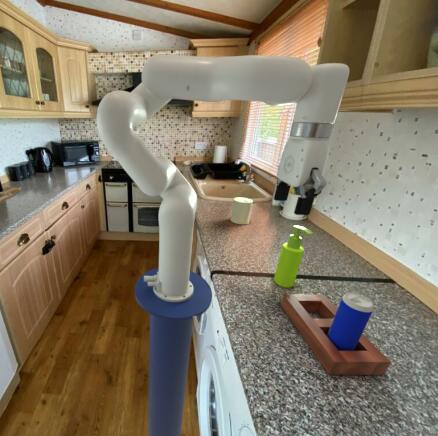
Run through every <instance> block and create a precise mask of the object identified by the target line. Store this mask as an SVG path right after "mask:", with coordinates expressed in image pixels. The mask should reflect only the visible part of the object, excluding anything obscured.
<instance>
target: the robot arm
mask: <svg viewBox="0 0 438 436" xmlns="http://www.w3.org/2000/svg"><path fill="white" fill-rule="evenodd" d="M349 76H350V67H349V66H348V65H347V64H346V63H341V62H340V63H339V62H338V63H337V62H328V63H321V64H315V65H312V66H311V65H310V64H309V63H308V62H307V61H306V60H304V59H302V58H299V57H297V56H296V57H295V56H286V55H285V56H283V55H264V54H259V55H258V54H250V55H248V54H247V55H237V56H236V55H235V56H231V55H229V56H198V55H197V56H195V55H184V54H183V55H181V54H163V53H162V54H161V53H160V54H155V55H154V54H153V55H152V56H150V57H149V58H147V60H146V61H145V62H144V64H143V65H142V69H141V82H140V84H138V85H137V86H136V87H135V88H134V89H133V90H132V91H126V90H119V89H118V90H112V91H110V92H107V94H105V95H104V96H103V97H102V99H101V100H100V102H99V104H98V107H97V110H96V128H97V132H98V135H99V138H100V140H101V142H102V143H103V145H104V147H105V148H106V149H107V150H108V151H109V154H111V155H112V156H113V157H114V159H115V160H116V161H117V162H118V163H119V165H120V166H121V167H122V169H123V170H124V171H125V172H126V174H127V175H128V176H129V177H130V179H131V180H132V181H133V182H134V184H135V185H136V186H137V187H138V188H139V190H140V191H141V192H142V193H143V194H145V195H146V196H149V197H158V196H160V198H162V201H161V203H160V205H159V209H158V229H159V230H158V231H159V233H158V236H159V241H158V243H159V244H158V246H159V248H158V268H159V272H157V275H154V276H144V282H148V286H153V290H154V293H155V294H156V295H157V296H158V297H159V298H161V299H162V300H165V301H168V302H182V301H185V300H187V299H189V298H190V297H191V296H192V294H193V285H192V283H191V282H190V281H189V276H190V271H191V265H192V264H191V263H192V255H193V254H192V253H193V243H194V242H193V240H194V228H195V221H196V220H195V219H196V212H197V205H198V194H197V193H196V190H195V189H194V187H193V186H192V185H191V184H190V183H189V181H188V180H187V179H186V177H185V176H184V174H182V172H181V171H180V170H179V169H178V167H177V166H176V165H175V164H174V163H173V161H172V160H170V159H169V158H167V157H165V156H162V155H155V153H154V152H152V150H151V149H150V148H149V147H148V145H147V144H146V142H145V141H144V140H143V139H142V138H141V137H140V136H139V135H138V134H137V133H136V132H135V129H134V128H136V127H140V126H141V125H144V123H146V122H147V121H148V120H149V119H151V118H152V117H154V115H156V113H158V112H159V111H160V110H161V109H162V108H164V107H165V106H167V104H168V103H169V102H171V101H172V100H184V101H194V102H203V103H219V102H226V101H246V102H247V101H248V102H261V103H264V104H266V105H268V106H270V107H281V106H287V105H288V106H289V105H296V106H295V110H294V114H293V119H292V122H291V127H290V130H289V135H288V138H287V141H286V143H285V145H284V147H283V151H282V153H281V157H280V160H279V163H278V166H277V171H276V178H277V180H276V187H275V188H276V189H275V192H274V196H273V200H274V201H276V202H277V201H280V202H281V201H282V202H286V201H288V198H289V193H290V190H291V187H294V188H298V189H299V194H300V196H298V197H297V201H296V203H295V207H294V211H293V214H294V215H296V216H309V215H310V214H311V212H312V208H313V204H314V201H315V200H316V199H317V198H318V196H319V195H320V194H321V193H322V191H323V190H324V188H325V187H326V185H327V180H326V179H325V177H324V176H323V172H324V170H325V165H326V161H327V156H328V150H329V141H330V139H331V135H332V132H333V129H334V127H335V122H336V119H337V115H338V112H339V109H340V105H341V102H342V99H343V96H344V92H345V90H346V86H347V82H348V80H349ZM307 189H308V190H307Z"/></svg>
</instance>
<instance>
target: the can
mask: <svg viewBox="0 0 438 436" xmlns="http://www.w3.org/2000/svg"><path fill="white" fill-rule="evenodd" d="M253 202H254V200H253V199H252V198H249V197H245V196H244V197H243V196H238V197H237V196H236V197H234V198H233V203H232V209H231V214H230V221H231V222H232V223H234V224H237V225H248V224H249V223H250V218H251V212H252V207H253Z"/></svg>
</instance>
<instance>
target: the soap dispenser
mask: <svg viewBox="0 0 438 436" xmlns="http://www.w3.org/2000/svg"><path fill="white" fill-rule="evenodd" d="M291 228H292V229H294V231H293V234H290V235H289V236H288V241H287V242H284V243H282V244H281V249H280V253H279V258H278V261H277V264H276V269H275V271H274V272H275V273H274V277H273V281H274V283H275V284H276V285H278V286H279V287H283V288H287V289H288V288H289V289H290V288H293V287H294V286H295V282H296V279H297V276H298V272H299V269H300V265H301V262H302V260H303V255H304V252H305V248H304V247H303V246H302V243H303V237H302V236H301V234H302V233H304V234H305V235H306V236H310V235H313V234H314V232H313V231H312V230H310V229H308V228H307V227H304V226H301V225H297V224H295V225H292V226H291Z"/></svg>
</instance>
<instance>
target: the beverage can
mask: <svg viewBox="0 0 438 436" xmlns="http://www.w3.org/2000/svg"><path fill="white" fill-rule="evenodd" d="M337 308H338V309H337V312H336V314H335V317H334V319H333V322H332V324H331V327H330V329H329V332H328V334H327V337H328V338H329V340H330V341H331V342H332V343H333V345H334V346H335V347H336V348H337V349H338V351H354V350H355V348H356V346H357V343H358V341H359V339H360V337H361V335H362V333H363V334H364V331H365V329H366V327H367V324H368V322H369V320H370V318H371V316H372V314H373V312H374V310H375V309H374V302H373V301H372V300H371V299H370V298H369V297H367V296H365V295H363V294H360V293H358V292H352V291H348V292H346V293H345V294H344V295H342V297H341V299H340V302H339V304H338V307H337Z"/></svg>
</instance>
